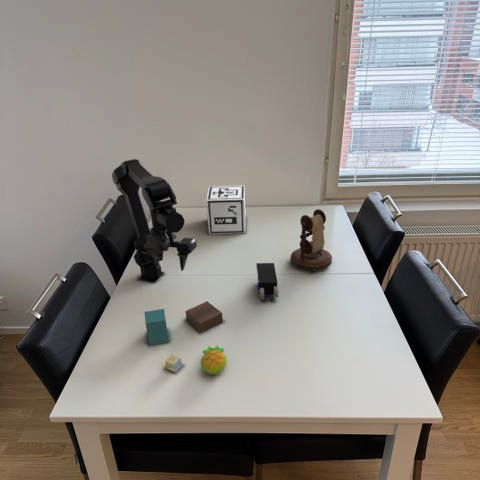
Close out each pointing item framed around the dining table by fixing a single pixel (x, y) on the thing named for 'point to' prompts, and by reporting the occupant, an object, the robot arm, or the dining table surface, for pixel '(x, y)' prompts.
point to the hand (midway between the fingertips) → (169, 268)
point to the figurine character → (267, 280)
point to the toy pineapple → (213, 360)
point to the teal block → (156, 327)
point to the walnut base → (204, 316)
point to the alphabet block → (173, 363)
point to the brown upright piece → (312, 244)
